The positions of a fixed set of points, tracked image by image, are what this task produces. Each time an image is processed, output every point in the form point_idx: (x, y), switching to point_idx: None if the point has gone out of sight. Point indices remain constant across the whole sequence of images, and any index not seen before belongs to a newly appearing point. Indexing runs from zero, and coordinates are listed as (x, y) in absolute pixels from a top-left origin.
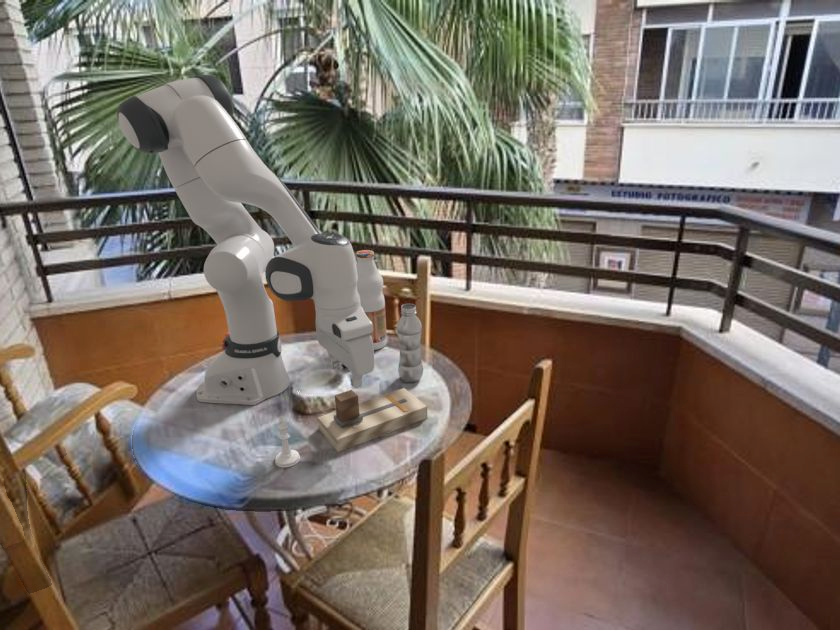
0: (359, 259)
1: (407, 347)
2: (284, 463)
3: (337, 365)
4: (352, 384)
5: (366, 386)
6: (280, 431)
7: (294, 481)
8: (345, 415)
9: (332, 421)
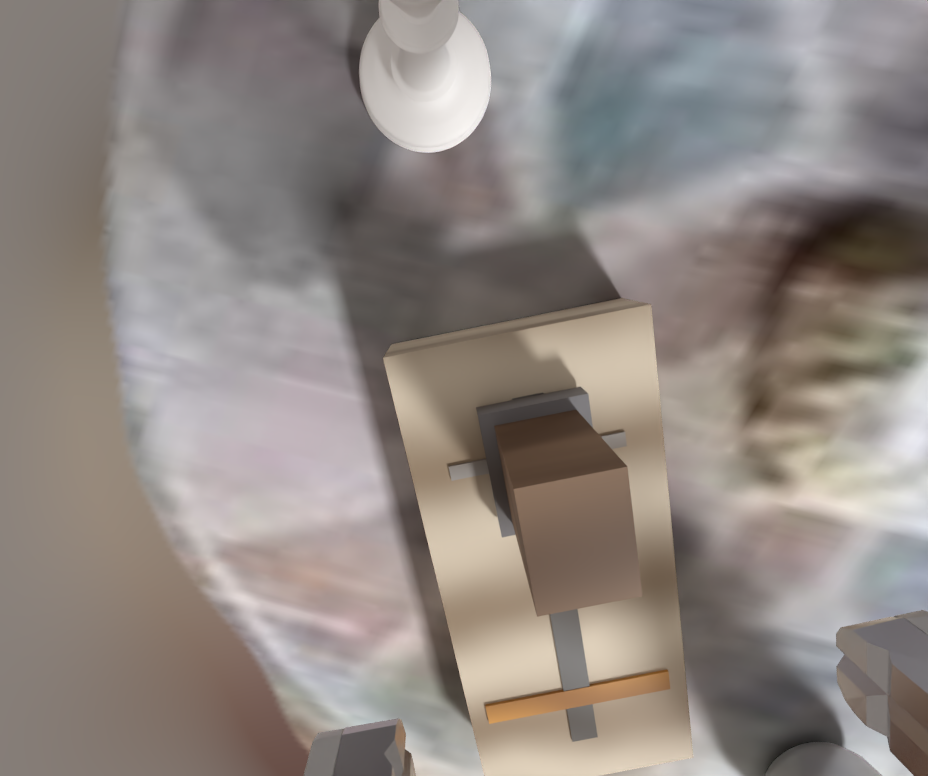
0: None
1: None
2: (365, 45)
3: (897, 703)
4: (350, 751)
5: (861, 592)
6: None
7: (231, 83)
8: (502, 460)
9: (568, 374)
